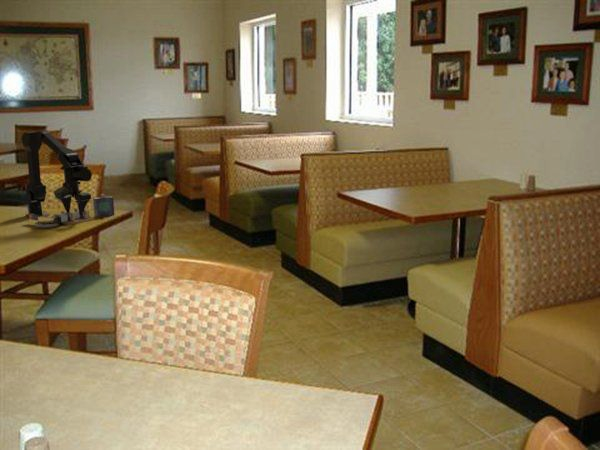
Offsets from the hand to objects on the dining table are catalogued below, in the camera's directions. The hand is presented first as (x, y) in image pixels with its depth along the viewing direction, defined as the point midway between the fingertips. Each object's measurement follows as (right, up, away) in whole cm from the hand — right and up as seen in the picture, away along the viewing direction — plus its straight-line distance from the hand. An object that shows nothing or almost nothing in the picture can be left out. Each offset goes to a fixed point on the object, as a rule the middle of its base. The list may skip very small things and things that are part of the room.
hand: (74, 213), depth 280 cm
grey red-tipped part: (-12, -3, -7) cm, 14 cm away
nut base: (-9, -6, -9) cm, 14 cm away
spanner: (-1, -2, 0) cm, 2 cm away
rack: (0, -3, +1) cm, 4 cm away
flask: (+10, -1, +12) cm, 16 cm away
